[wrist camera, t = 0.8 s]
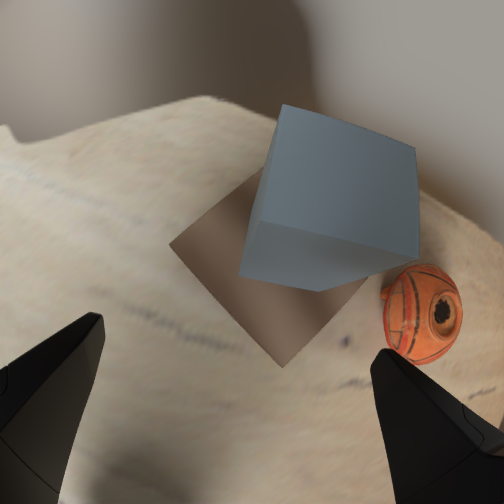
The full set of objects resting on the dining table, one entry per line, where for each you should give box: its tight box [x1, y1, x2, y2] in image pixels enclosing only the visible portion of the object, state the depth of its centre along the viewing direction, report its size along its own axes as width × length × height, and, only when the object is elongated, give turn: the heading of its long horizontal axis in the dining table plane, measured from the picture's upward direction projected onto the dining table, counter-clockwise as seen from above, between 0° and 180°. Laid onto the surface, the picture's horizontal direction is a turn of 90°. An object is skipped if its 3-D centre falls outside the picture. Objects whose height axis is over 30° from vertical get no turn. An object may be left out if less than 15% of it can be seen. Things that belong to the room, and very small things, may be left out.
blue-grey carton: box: [238, 104, 420, 292], centre depth 16 cm, size 5×6×12 cm
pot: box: [381, 264, 463, 365], centre depth 20 cm, size 8×8×7 cm
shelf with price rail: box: [169, 167, 369, 368], centre depth 21 cm, size 11×12×4 cm
